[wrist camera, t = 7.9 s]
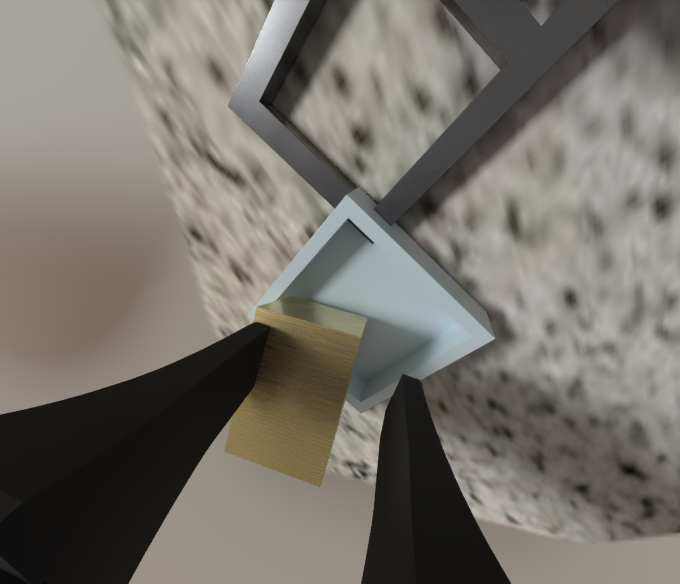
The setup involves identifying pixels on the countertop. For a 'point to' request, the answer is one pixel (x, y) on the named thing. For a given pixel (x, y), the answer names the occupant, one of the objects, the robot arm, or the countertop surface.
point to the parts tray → (384, 299)
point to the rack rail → (493, 101)
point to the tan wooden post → (298, 388)
